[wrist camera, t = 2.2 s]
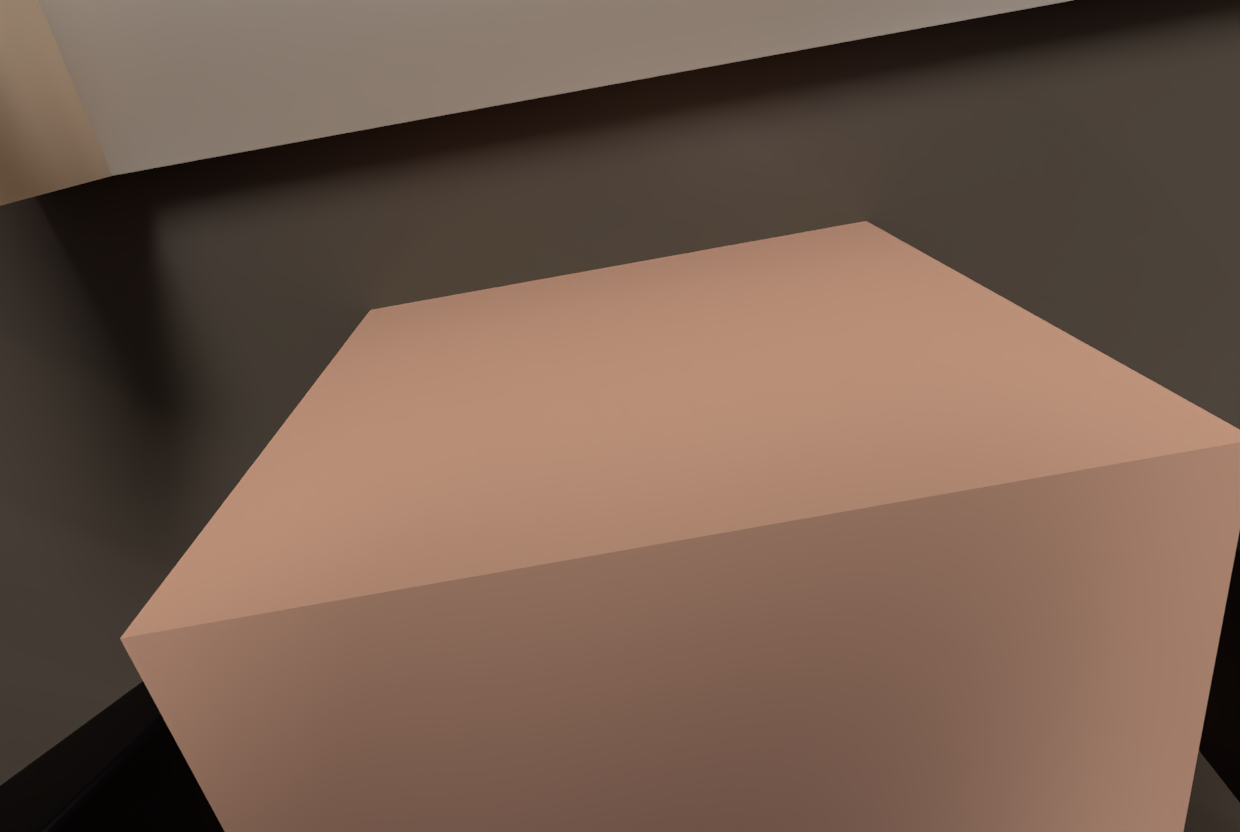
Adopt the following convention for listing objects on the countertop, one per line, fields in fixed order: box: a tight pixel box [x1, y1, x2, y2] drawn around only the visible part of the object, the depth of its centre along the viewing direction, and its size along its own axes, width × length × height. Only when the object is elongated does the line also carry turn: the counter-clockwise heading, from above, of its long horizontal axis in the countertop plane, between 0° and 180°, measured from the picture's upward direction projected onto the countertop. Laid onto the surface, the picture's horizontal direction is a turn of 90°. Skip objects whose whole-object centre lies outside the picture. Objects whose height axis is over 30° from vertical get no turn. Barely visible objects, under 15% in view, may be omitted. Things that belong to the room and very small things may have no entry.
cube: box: [120, 221, 1240, 832], centre depth 8 cm, size 6×6×6 cm
